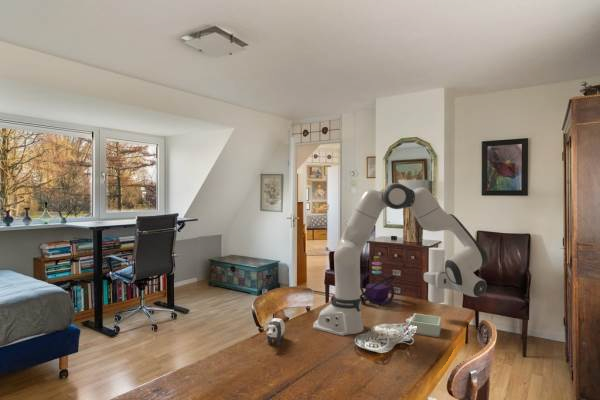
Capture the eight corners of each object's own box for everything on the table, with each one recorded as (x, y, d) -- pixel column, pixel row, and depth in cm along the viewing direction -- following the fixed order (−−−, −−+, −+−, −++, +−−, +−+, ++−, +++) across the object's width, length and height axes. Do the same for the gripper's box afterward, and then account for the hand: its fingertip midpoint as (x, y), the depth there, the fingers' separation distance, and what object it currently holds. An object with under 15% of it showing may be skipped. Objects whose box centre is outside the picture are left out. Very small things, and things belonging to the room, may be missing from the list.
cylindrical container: (425, 300, 176) (426, 248, 176) (432, 297, 181) (433, 247, 181) (440, 304, 171) (440, 250, 170) (446, 300, 176) (447, 248, 175)
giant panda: (272, 335, 156) (272, 313, 156) (285, 336, 155) (285, 314, 155) (262, 350, 142) (262, 325, 141) (276, 351, 140) (276, 326, 140)
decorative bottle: (369, 294, 218) (370, 252, 218) (403, 300, 205) (403, 256, 204) (349, 302, 201) (349, 257, 200) (384, 311, 188) (384, 262, 187)
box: (410, 332, 159) (410, 321, 159) (414, 324, 169) (414, 313, 169) (438, 337, 154) (439, 325, 154) (440, 327, 164) (441, 316, 164)
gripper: (474, 271, 166) (453, 265, 179) (435, 273, 161) (416, 267, 174) (474, 285, 166) (453, 278, 179) (434, 288, 161) (416, 280, 174)
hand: (435, 273), depth 177 cm, fingers closed on cylindrical container, 7 cm apart
